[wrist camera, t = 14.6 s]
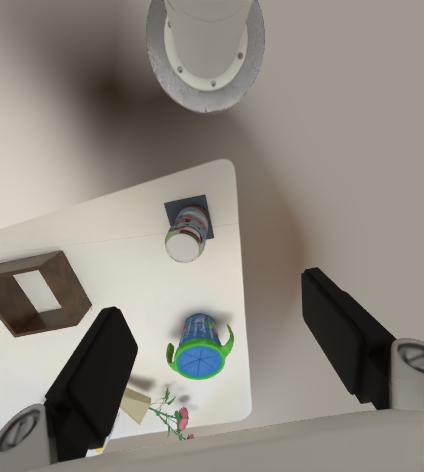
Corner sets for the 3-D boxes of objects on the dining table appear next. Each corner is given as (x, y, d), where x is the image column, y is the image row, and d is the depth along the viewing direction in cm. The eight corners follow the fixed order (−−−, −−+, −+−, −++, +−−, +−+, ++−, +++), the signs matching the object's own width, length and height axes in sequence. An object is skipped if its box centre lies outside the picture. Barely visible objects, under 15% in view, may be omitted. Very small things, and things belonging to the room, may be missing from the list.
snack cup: (225, 300, 48) (230, 336, 38) (234, 332, 52) (242, 371, 42) (163, 316, 49) (153, 354, 39) (177, 345, 52) (171, 387, 43)
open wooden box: (0, 263, 41) (-32, 279, 36) (62, 250, 41) (40, 265, 35) (36, 316, 47) (14, 337, 41) (92, 305, 46) (77, 325, 41)
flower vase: (112, 335, 60) (210, 396, 60) (90, 369, 60) (188, 430, 60) (88, 359, 48) (210, 435, 49) (60, 402, 48) (183, 478, 48)
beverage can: (215, 215, 39) (220, 239, 28) (193, 243, 41) (189, 275, 30) (189, 196, 38) (183, 213, 26) (167, 225, 40) (154, 252, 28)
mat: (164, 203, 38) (164, 203, 38) (205, 194, 38) (205, 195, 38) (176, 244, 42) (176, 245, 41) (214, 237, 41) (214, 237, 41)
